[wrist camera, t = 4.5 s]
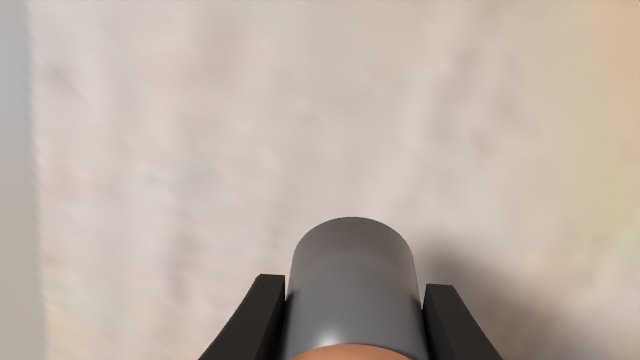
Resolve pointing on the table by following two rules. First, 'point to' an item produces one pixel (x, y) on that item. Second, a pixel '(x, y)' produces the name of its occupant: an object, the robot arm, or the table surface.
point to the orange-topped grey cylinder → (352, 296)
